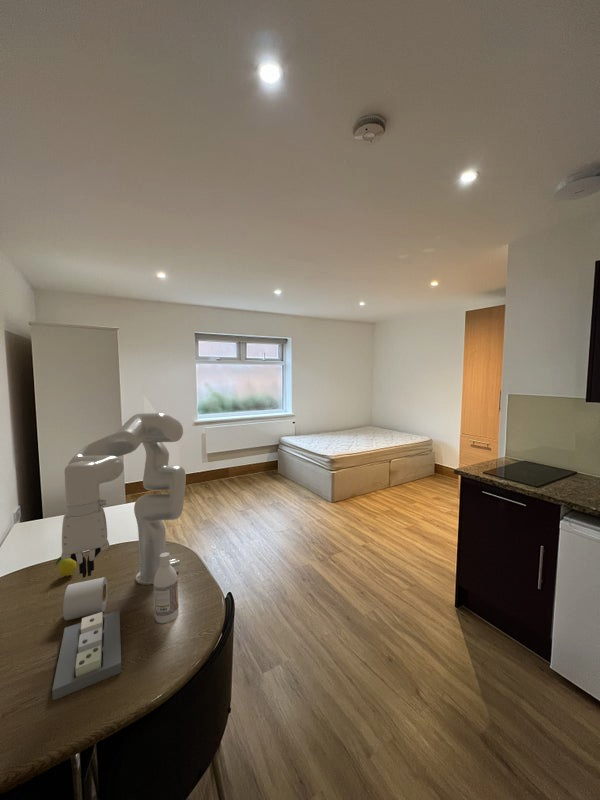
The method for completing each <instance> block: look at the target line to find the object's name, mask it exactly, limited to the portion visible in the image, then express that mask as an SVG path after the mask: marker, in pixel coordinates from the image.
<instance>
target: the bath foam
mask: <svg viewBox="0 0 600 800" xmlns="http://www.w3.org/2000/svg"><path fill="white" fill-rule="evenodd" d="M159 557H160V567H159V569H158V571H157V572H156V575H155V577H154V584H153V602H154V618H155V621H156V622H157V623H158V624H167V623H170V622H172V621H174V620H175V619H176V618H177V617H178V616H179V612H180V611H179V610H180V609H179V607H180V605H179V589H178V587H179V585H178V583H179V582H178V580H179V579H178V575H177V572H176V569H175V568H174V567H172V566H171V565H170V560H171V557H170V552H167V551H166V552H165V553H162V554H160V556H159Z"/></svg>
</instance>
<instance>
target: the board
mask: <svg viewBox="0 0 600 800" xmlns="http://www.w3.org/2000/svg"><path fill="white" fill-rule="evenodd" d="M81 623H82V621H81V622H79V623H75V624H73V625H69V626H66V627H64V630H63V635H62V640H61V645H60V649H59V650H60V651H59V655H58V659H57V660H58V661H57V664H56V670H55V675H54V678H53V679H54V680H53V686H52V690H51V692H52V694H51V695H52V701H55V700H57V699H60V698H62V697H65V696H67V695H70V694H72V693H75V692H78V691H79V690H82V689H84V688H87V687H89V686H92V685H94V684H97V683H98V682H101V681H104V680H107V679H109V678H111V677H114V676H115V675H116V676H117V675H118V674H121V673H122V649H121V648H122V647H121V646H122V644H121V617H120V609H118V610H115V611H112V612H109V613H106V614H103V630H102V643H103V644H102V648H101V652H102V666H101V668H99V669H97V670H94V671H92V672H89V673H87V674H84V675H82V676H79V677H77V678H76V671H75V668H76V660H77V654H78V645H79V638H80V635H81Z"/></svg>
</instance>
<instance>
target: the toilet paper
mask: <svg viewBox="0 0 600 800" xmlns="http://www.w3.org/2000/svg"><path fill="white" fill-rule="evenodd" d="M108 592H109V591H108V580H107V577H106V576H104V577H99V578H94V579H90V580H89V579H88V580H84V581H79V582H75V583H70V584H68V585H67V587H66V589H65V593H64V597H63V604H62V605H63V606H62V614H63V619H64V620H65V621H66V622H67V621H70V620H74V619H79V618H84V617H88V616H91V615H94V614H97V613H100V612H105V611H106V607H107V601H108Z"/></svg>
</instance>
